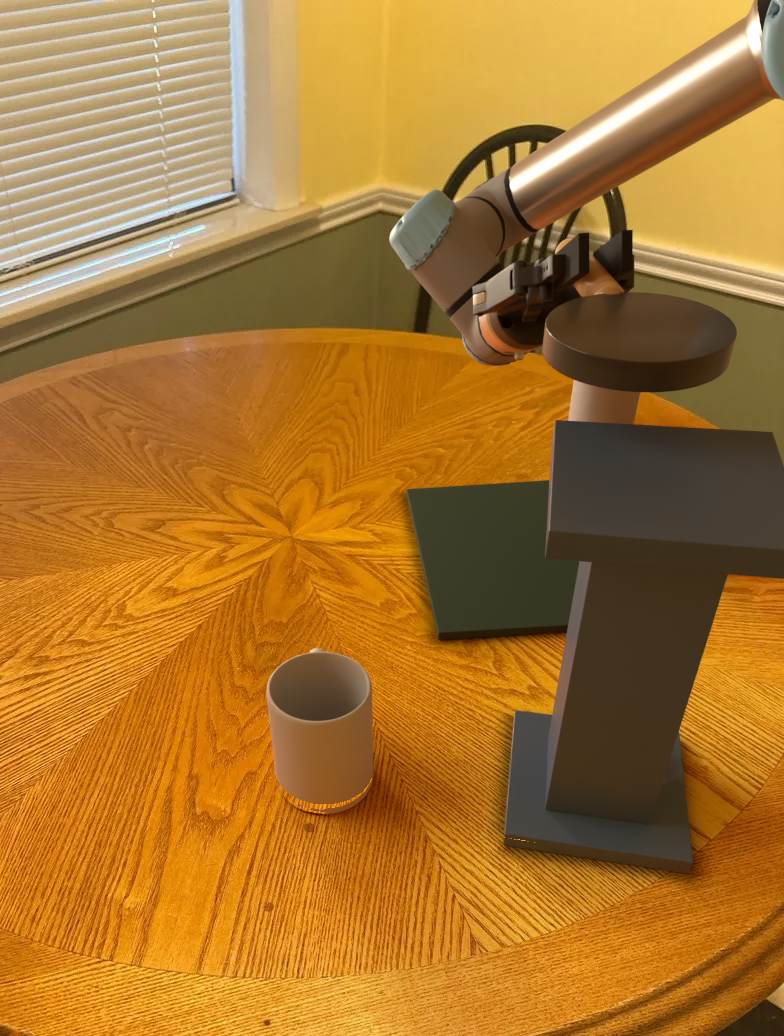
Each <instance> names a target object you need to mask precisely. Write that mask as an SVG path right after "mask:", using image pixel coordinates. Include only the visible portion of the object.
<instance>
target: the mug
mask: <svg viewBox="0 0 784 1036" xmlns="http://www.w3.org/2000/svg"><path fill="white" fill-rule="evenodd" d="M372 684H373V683H372V680H371V677H370V675H369V673H368V672H367V670H366V669H365V668H364V666H362V665H361V664H360V663H359V662H358V661H356V660H354V658H352V657H349V656H346V655H344V654H341V653H337V652H331V651H324V649H322V648H321V647H315V648H311V649H310V650H309V652H306V653H302V654H299V655H298V654H297V655H295V656H293V657H291V658H289V659H287V660H285V661H284V662H281V664H280V665H278V666H277V667H276V669H274V671H273V672H272V673H271V674H270V676H269V679H268V681H267V684H266V704H267V712H268V721H269V731H270V739H271V746H272V747H271V748H272V755H273V767H274V776H275V775H276V778H277V780H278V782H279V784H280V785H281V787H282V788H283V789H284V790H285V791H286V792H288V793H289V794H291V795H292V796H294V797H296V798H298V799H299V800H302V801H306V802H308V803H313V804H335V803H340V802H344V801H347V800H350V799H351V798H353V797H355V796H356V795H358V794H360V793H361V792H362V791H363V790H364V789H365V788H366V787H367V785H368V784H369V782H370V780H371V778H372V775H373V776H374V773H375V772H373V770H374V749H373V748H374V746H373V745H374V743H373V739H374V737H373V736H374V735H373V685H372ZM373 780H374V777H373V778H372V781H371V783H370V785H369V787H368V788H367V789H366V791H365V792H364V793H363V794H362V795H361V796H359V797H358V798H357V799H355V800H354V801H352V802H350V803H348V804H346V805H343V806H340V807H335V808H327V809H324V810H319V809H314V808H311V809H310V810H313V811H321V812H327V813H324V814H323V815H334V814H339V813H343V812H345V811H347V810H349V809H351V808H353V807H355V806H357V805H358V804H359V803H360V802H361V801H362V800H364V799H365V797H366V796H367V795H368V793H369V791H370V789H371V787H372V785H373ZM277 785H278V784H277V783H276V786H277ZM277 789H278V791H279V793H280V792H281V793H283V792H282V791H280V790H279V789H280V788H279V787H277ZM281 793H280V794H281ZM299 806H303V805H299ZM305 807H306V806H305ZM323 815H322V816H323Z"/></svg>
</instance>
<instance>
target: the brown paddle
mask: <svg viewBox="0 0 784 1036" xmlns="http://www.w3.org/2000/svg"><path fill="white" fill-rule="evenodd" d="M573 238H574V237H569V238H565V239H563V240H562V241H561V242H559V244H558V245H557V246H556V249H555V251H554V255H555V254H556V253H557V252H558V251H559V250H560V249H562V248H563V247H564V246H565V245H566V244H567V243H568V242H569V241H571V240H572V239H573ZM573 286H574V287H575V288H576V290H577V291H578V292H579V294H580V295H581V296H582V297H581V298H578V299H574V300H571V301H568V302H566V303H564V304H562V305H560V306H558V307H557V308H555V309H554V310H553V311H551V312H550V313H549V315H548V317H547V318H546V322H545V330H544V338H543V346H541V347H542V348H541V352H542V356H543V358H544V360H545V362H547V364H548V365H549V366H550V367H551V368H552V369H553V370H555V371H556V372H558V373H559V374H561V375H563V376H565V377H566V378H569V379H571V380H573V381H574V380H576V381H579V382H582V383H585V384H588V385H592V386H596V387H600V388H606V389H611V390H619V391H628V392H640V393H667V392H675V391H682V390H688V389H692V388H696V387H700V386H703V385H706V384H708V383H711V382H712V381H714V380H717V379H718V378H719V377H721V376H722V375H723V374H724V373H725V372H727V369H728V368H729V366H730V363H731V359H732V354H733V351H734V347H735V343H736V340H737V335H738V330H737V327H736V324H735V323H734V322H733V320H732V319H731V318H730V317H729V316H728V315H726V314H725V313H724V312H722V311H721V310H718V309H717V308H714V307H713V306H711V305H708V304H705V303H702V302H699V301H696V300H693V299H690V298H685V297H681V296H675V295H670V294H662V293H655V292H654V293H653V292H640V291H639V292H638V291H629V292H624V290H623V289H622V288H621V286H620V285H619V284H618V283H617V282H616V281H615V280H614V278H613V277H612V276H611V275H610V274H609V273H608V272H607V270H606V269H605V268H604V267H603V266H602V265H601V264H600V262H599V261H598V260H597V259H596V258H595V257H594V256H593V252H591V251H590V250H589V273H588V274H587V275H585V276H584V277H582V278H581V279H579V280H578V281H576V282H575V283H574V284H573Z"/></svg>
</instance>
